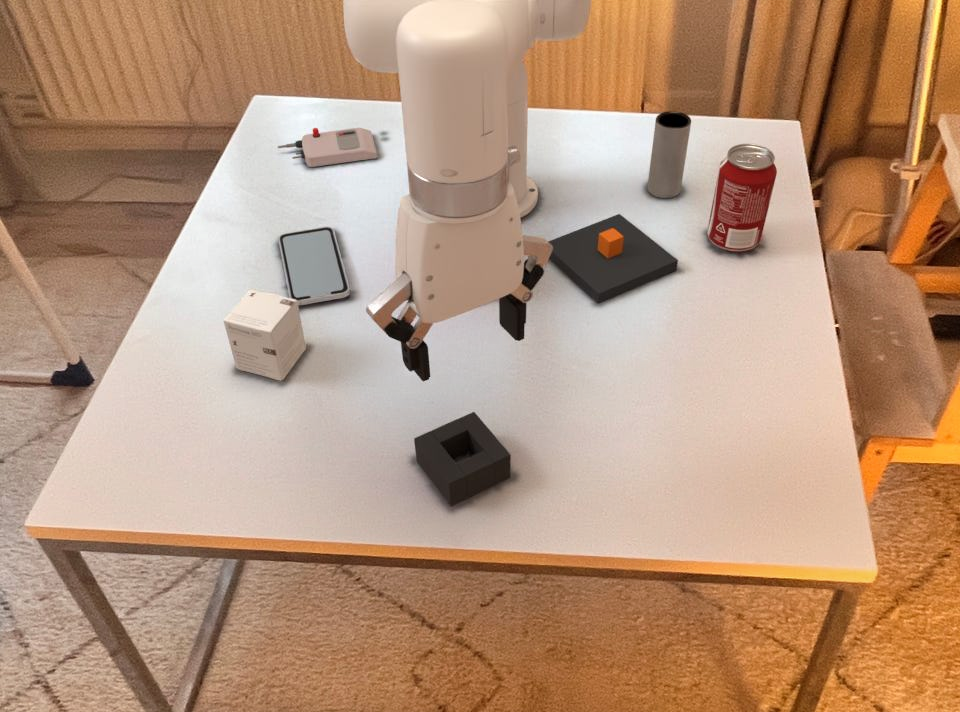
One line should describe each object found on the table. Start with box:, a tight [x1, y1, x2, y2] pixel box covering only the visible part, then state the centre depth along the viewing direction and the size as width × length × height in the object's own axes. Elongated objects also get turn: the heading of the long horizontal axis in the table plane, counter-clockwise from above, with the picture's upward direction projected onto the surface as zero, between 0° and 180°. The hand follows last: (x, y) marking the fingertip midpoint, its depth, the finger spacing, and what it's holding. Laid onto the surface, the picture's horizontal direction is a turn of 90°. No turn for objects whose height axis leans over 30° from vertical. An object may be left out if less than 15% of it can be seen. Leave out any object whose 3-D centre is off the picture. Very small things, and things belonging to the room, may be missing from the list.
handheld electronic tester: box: [277, 127, 378, 168], centre depth 134 cm, size 7×16×3 cm, turn 102°
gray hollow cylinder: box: [647, 110, 692, 199], centre depth 123 cm, size 4×4×10 cm
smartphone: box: [277, 226, 351, 306], centre depth 117 cm, size 7×1×15 cm
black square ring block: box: [413, 411, 512, 507], centre depth 93 cm, size 7×7×4 cm
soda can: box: [706, 143, 778, 252], centre depth 114 cm, size 7×7×12 cm
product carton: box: [223, 288, 307, 382], centre depth 103 cm, size 6×6×7 cm
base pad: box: [547, 213, 679, 304], centre depth 115 cm, size 12×12×4 cm
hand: (466, 351), depth 82 cm, fingers open, 9 cm apart
